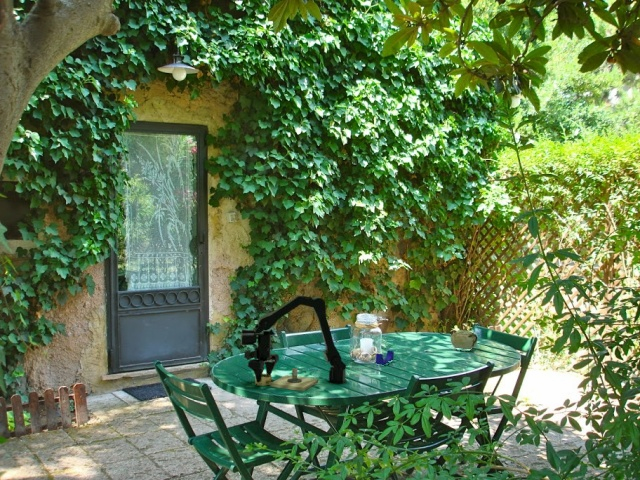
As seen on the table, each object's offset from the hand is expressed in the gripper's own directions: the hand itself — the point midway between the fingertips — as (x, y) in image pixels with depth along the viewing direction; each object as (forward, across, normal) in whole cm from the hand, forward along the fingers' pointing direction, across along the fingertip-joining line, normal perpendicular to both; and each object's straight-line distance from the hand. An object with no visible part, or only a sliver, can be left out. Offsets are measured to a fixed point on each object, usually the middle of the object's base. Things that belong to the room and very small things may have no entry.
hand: (263, 379), depth 281 cm
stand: (+2, -5, +13) cm, 14 cm away
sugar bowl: (+2, -119, +67) cm, 137 cm away
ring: (+2, 0, 0) cm, 2 cm away
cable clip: (+2, -64, +37) cm, 74 cm away
